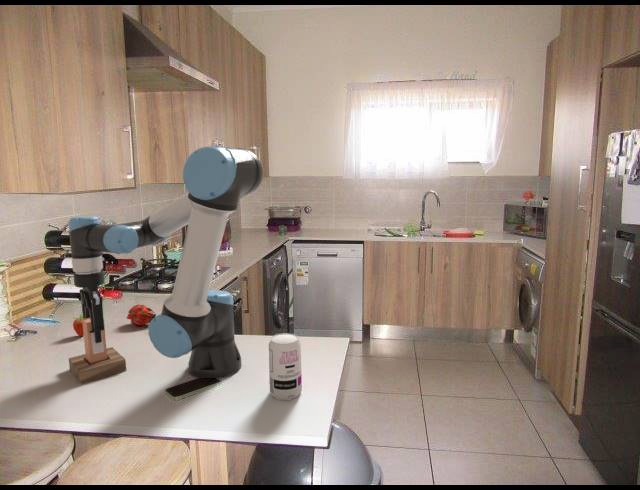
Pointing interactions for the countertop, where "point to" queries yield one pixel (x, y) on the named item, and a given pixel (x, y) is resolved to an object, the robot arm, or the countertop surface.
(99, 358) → the peg
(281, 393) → the supplement can
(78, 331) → the fruit
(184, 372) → the countertop surface
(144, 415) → the countertop surface
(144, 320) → the dragon fruit
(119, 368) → the socket
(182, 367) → the countertop surface
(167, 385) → the countertop surface
